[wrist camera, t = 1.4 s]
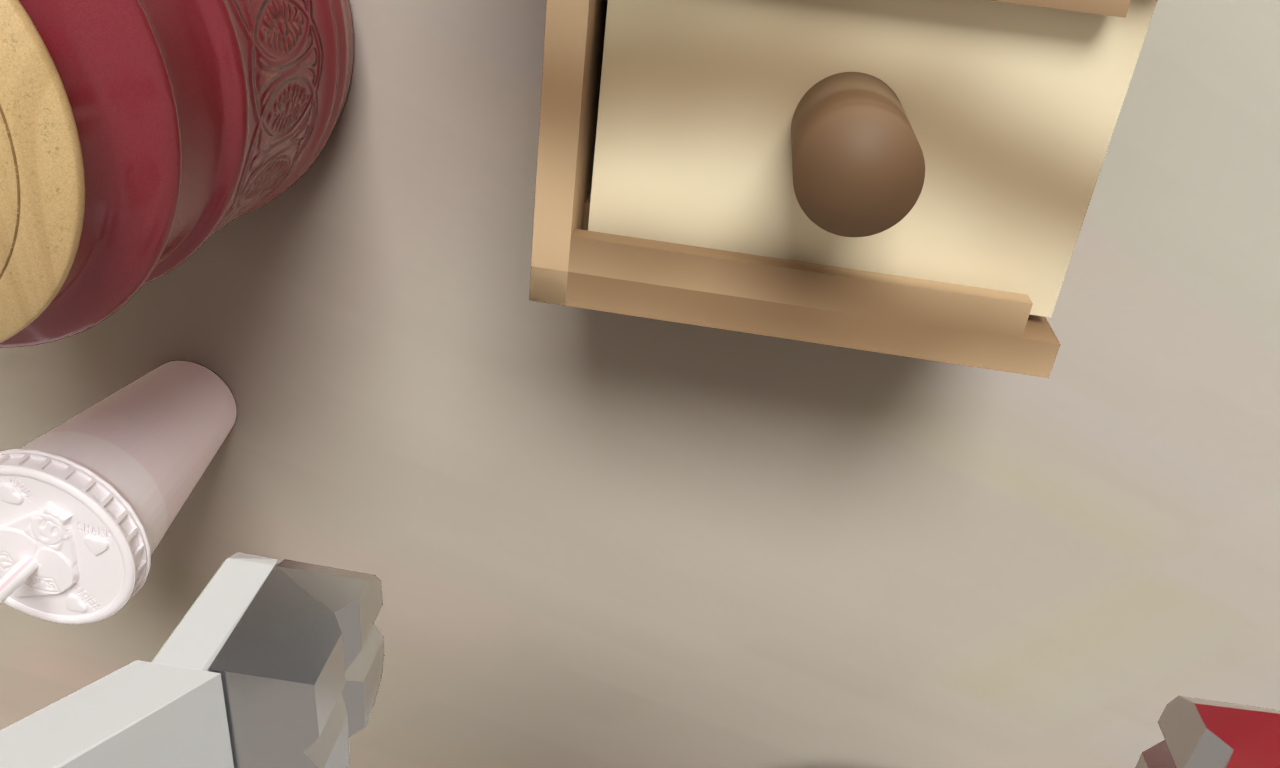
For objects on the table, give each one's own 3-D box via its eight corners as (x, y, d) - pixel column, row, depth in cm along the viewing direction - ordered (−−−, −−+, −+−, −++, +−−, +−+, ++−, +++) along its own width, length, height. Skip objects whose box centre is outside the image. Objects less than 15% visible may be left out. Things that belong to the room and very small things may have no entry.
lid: (1040, 299, 28) (1091, 388, 24) (593, 234, 29) (558, 308, 24) (1146, -23, 24) (1231, 9, 20) (621, -90, 25) (586, -74, 20)
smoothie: (92, 411, 41) (-195, 651, 29) (148, 298, 39) (-144, 512, 26) (231, 495, 43) (11, 759, 30) (295, 391, 40) (81, 637, 28)
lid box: (992, 263, 34) (1048, 377, 27) (581, 204, 35) (529, 300, 28) (1099, -97, 29) (1205, -75, 21) (610, -158, 29) (555, -156, 22)
